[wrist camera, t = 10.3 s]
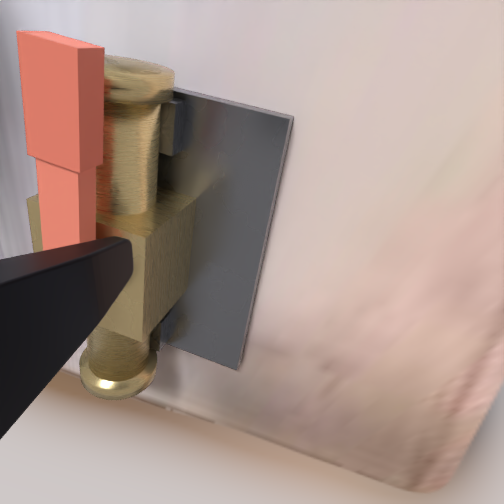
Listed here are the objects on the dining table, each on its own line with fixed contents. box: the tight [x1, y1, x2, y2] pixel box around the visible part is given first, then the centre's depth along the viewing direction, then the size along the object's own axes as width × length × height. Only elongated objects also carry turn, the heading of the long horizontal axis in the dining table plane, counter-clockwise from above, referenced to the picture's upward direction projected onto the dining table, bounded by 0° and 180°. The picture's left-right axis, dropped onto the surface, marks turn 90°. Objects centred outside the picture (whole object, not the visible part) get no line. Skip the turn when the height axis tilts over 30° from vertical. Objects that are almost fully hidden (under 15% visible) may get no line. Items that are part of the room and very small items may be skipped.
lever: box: [16, 31, 104, 251], centre depth 16 cm, size 12×3×2 cm, turn 168°
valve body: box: [27, 55, 294, 400], centre depth 21 cm, size 18×14×6 cm
